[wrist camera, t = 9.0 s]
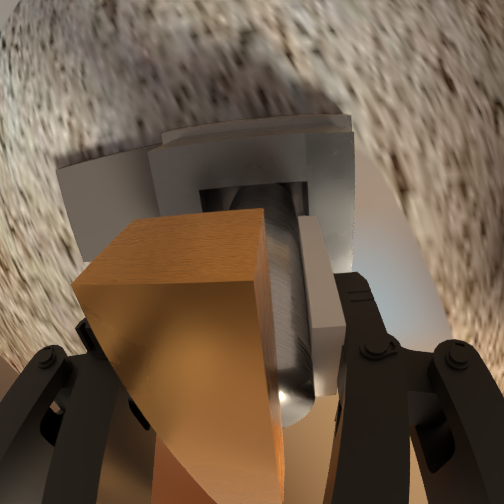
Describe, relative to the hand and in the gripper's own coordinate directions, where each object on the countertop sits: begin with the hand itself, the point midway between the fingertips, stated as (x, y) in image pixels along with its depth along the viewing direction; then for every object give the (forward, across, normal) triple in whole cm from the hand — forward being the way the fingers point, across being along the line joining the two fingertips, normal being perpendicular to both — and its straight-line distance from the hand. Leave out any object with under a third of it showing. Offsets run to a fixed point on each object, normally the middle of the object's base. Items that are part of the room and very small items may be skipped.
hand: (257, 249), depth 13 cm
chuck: (+8, 0, 0) cm, 8 cm away
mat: (+8, -10, 0) cm, 13 cm away
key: (+5, 0, 0) cm, 5 cm away
